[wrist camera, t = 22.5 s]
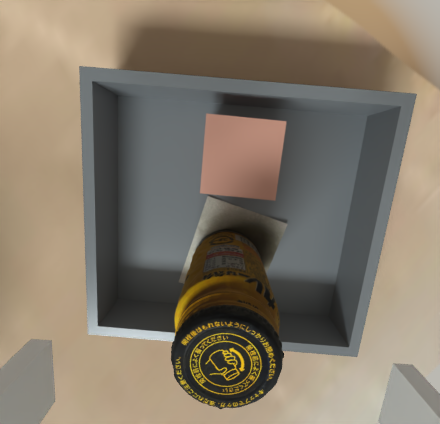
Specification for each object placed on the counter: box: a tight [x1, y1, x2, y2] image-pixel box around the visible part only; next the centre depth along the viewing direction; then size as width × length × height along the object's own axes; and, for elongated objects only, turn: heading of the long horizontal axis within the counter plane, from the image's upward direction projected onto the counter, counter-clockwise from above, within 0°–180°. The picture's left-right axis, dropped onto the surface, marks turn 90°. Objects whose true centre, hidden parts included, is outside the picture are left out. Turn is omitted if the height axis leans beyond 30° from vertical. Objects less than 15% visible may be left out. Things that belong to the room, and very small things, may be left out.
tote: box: [79, 66, 417, 357], centre depth 21 cm, size 20×22×5 cm
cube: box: [200, 114, 287, 201], centre depth 19 cm, size 5×5×5 cm
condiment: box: [171, 196, 287, 409], centre depth 17 cm, size 7×8×12 cm
